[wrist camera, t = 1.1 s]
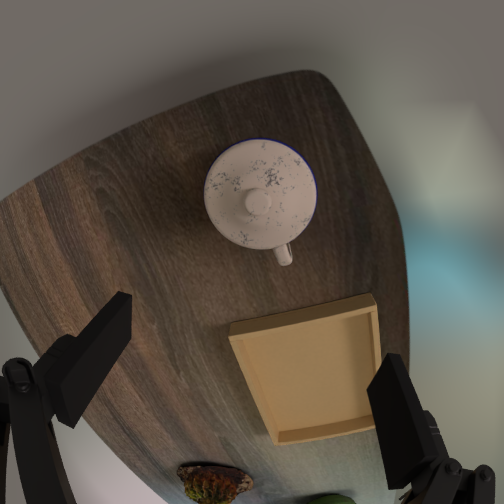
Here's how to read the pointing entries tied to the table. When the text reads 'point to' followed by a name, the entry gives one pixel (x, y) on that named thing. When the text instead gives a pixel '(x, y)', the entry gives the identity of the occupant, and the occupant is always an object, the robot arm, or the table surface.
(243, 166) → the teacup with lid
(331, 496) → the fruit
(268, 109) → the table surface
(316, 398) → the tray
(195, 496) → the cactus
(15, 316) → the table surface
